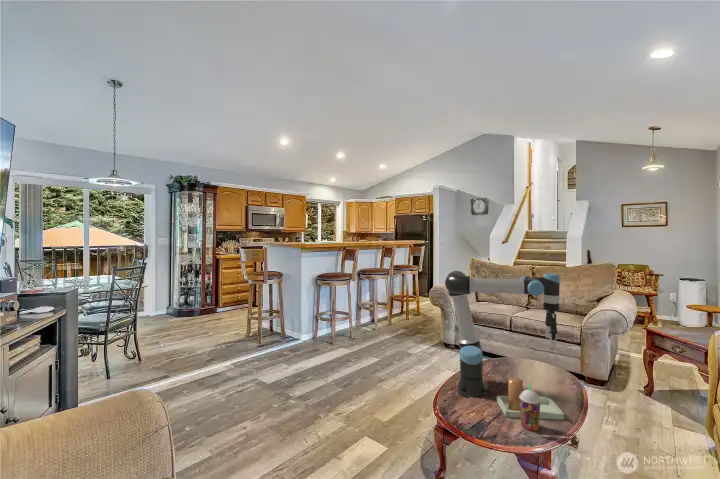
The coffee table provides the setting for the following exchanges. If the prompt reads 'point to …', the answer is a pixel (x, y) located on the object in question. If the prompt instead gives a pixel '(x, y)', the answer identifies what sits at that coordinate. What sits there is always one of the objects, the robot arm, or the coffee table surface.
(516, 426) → the coffee table surface
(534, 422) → the smoothie
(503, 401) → the green divided tray
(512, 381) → the tan rounded capsule
